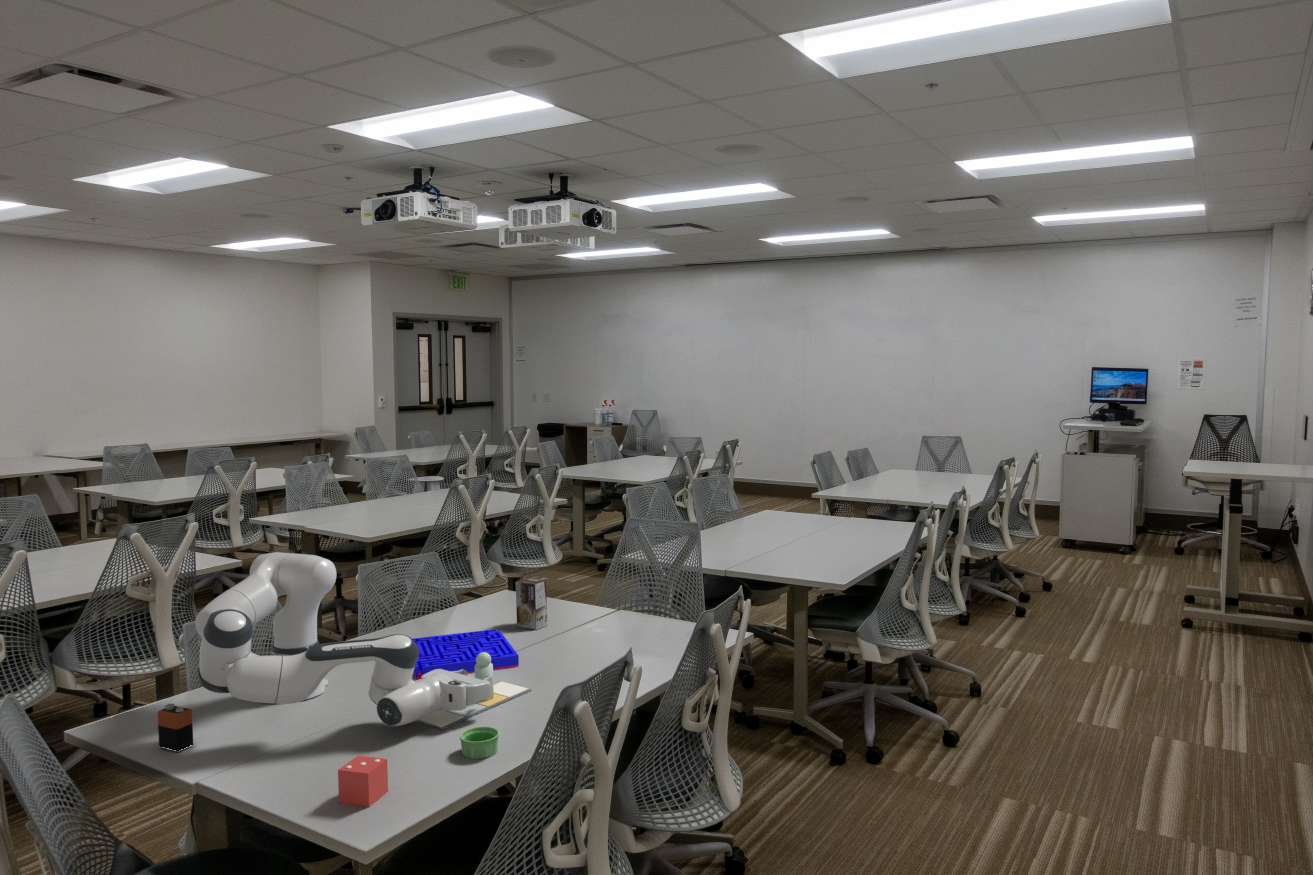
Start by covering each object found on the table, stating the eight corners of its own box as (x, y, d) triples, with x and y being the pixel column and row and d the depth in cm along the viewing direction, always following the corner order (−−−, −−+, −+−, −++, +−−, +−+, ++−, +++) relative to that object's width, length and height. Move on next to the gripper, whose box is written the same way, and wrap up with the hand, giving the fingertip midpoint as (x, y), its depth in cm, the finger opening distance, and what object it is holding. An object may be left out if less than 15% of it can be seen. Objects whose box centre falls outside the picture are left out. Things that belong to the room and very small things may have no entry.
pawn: (471, 698, 235) (470, 653, 234) (484, 693, 239) (483, 648, 238) (484, 702, 232) (483, 656, 231) (497, 696, 236) (496, 651, 235)
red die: (339, 802, 179) (337, 768, 178) (358, 787, 186) (357, 754, 185) (369, 806, 177) (368, 772, 177) (388, 790, 184) (387, 757, 183)
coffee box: (548, 625, 305) (547, 580, 304) (536, 630, 300) (535, 584, 299) (527, 621, 310) (527, 577, 309) (515, 626, 305) (514, 580, 304)
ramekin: (452, 752, 203) (452, 733, 203) (485, 740, 209) (485, 722, 209) (473, 764, 197) (473, 745, 196) (507, 751, 203) (506, 733, 203)
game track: (410, 718, 223) (410, 717, 223) (500, 682, 249) (500, 680, 249) (442, 729, 216) (442, 727, 216) (531, 690, 242) (531, 688, 242)
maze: (518, 668, 263) (518, 655, 262) (415, 681, 252) (415, 668, 251) (498, 640, 291) (498, 628, 290) (405, 651, 280) (404, 639, 279)
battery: (174, 741, 210) (172, 700, 210) (194, 745, 207) (192, 704, 207) (158, 748, 206) (156, 707, 206) (178, 753, 203) (176, 711, 203)
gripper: (410, 695, 228) (450, 679, 239) (466, 711, 216) (505, 694, 228) (410, 672, 227) (450, 657, 239) (465, 687, 216) (504, 670, 227)
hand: (477, 675), depth 233 cm, fingers open, 8 cm apart
